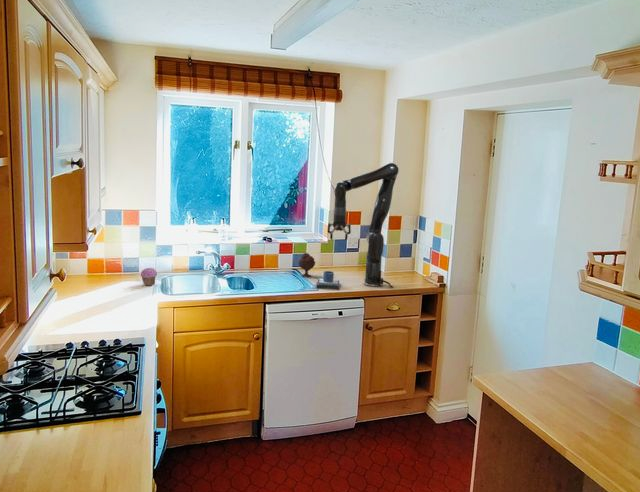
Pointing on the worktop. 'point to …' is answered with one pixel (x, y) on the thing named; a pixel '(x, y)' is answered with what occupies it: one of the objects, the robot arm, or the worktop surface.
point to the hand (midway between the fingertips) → (338, 240)
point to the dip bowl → (328, 276)
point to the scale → (328, 284)
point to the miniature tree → (306, 263)
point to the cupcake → (148, 276)
